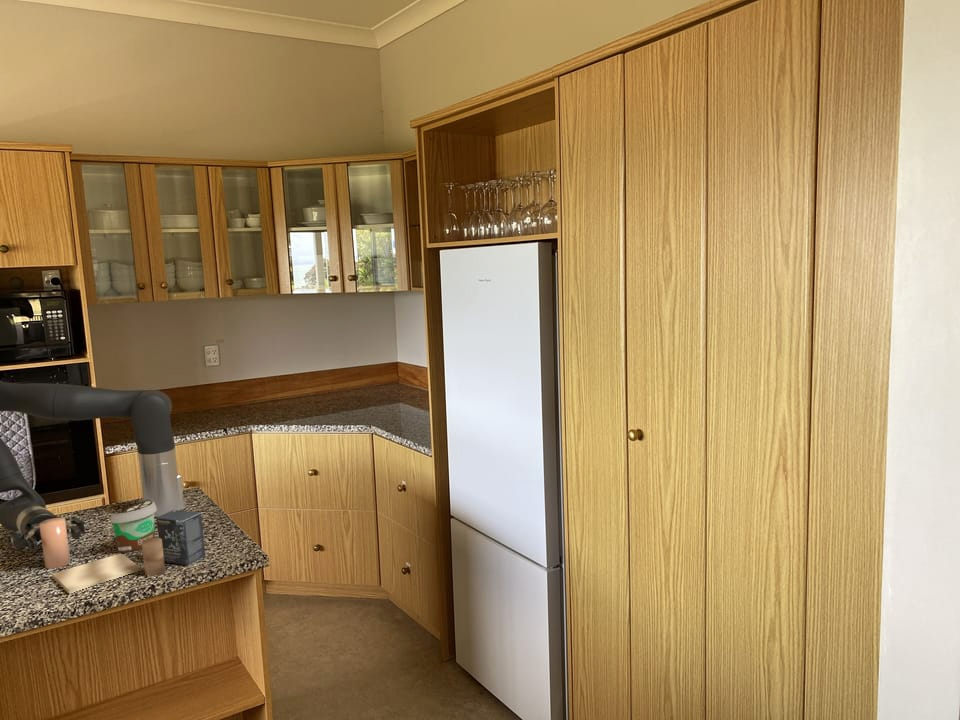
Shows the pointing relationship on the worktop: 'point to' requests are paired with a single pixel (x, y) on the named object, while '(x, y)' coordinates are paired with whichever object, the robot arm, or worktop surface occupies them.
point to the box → (181, 536)
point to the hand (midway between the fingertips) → (57, 540)
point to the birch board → (95, 573)
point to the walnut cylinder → (153, 556)
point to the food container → (134, 526)
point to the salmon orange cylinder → (55, 543)
